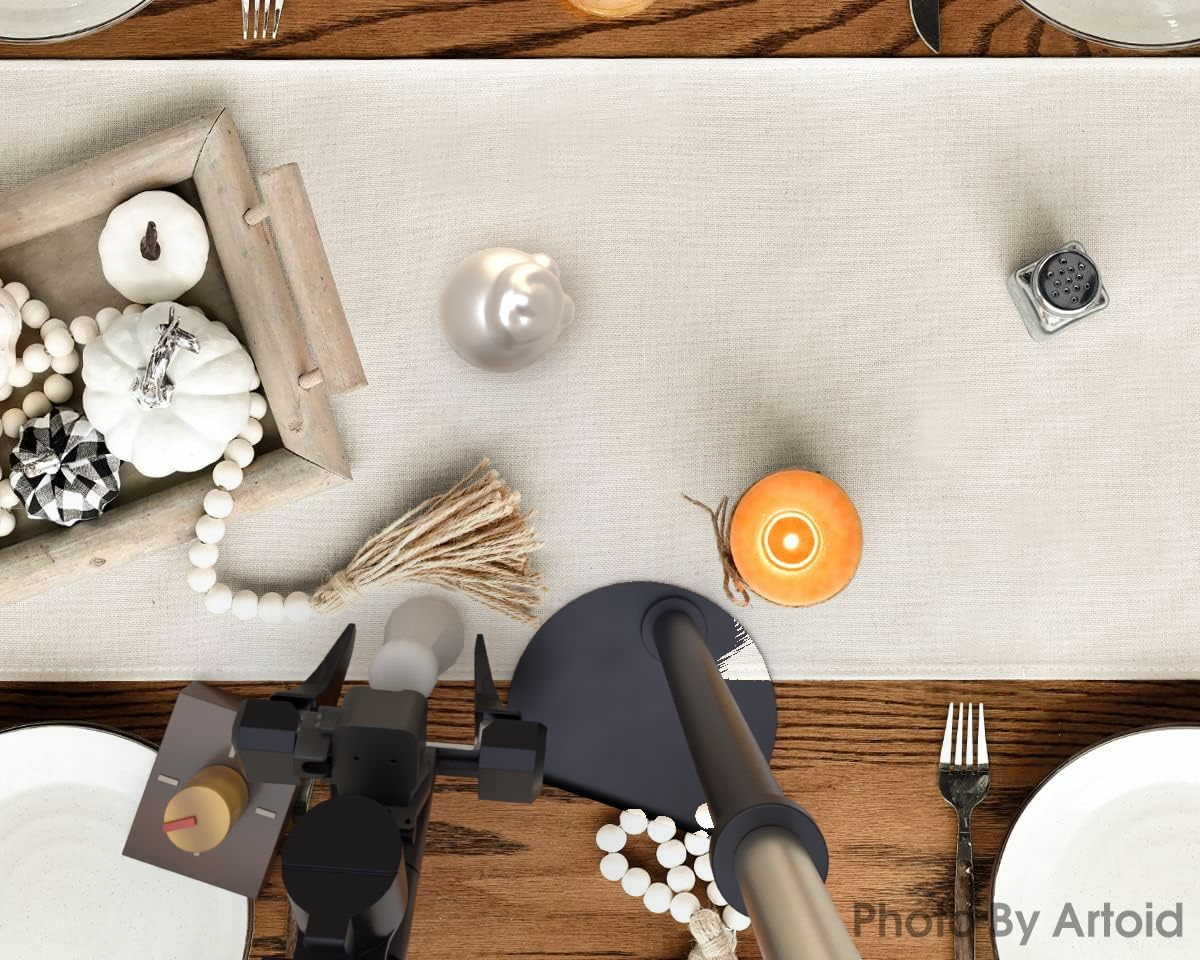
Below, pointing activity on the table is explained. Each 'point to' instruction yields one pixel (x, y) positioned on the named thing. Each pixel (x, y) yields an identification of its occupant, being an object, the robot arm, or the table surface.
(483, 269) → the ghost figurine
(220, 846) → the panel
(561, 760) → the round base pole stand
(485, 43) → the table surface
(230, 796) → the knob
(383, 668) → the salt shaker
